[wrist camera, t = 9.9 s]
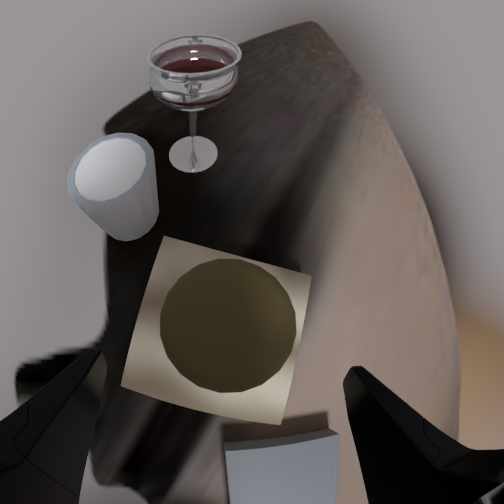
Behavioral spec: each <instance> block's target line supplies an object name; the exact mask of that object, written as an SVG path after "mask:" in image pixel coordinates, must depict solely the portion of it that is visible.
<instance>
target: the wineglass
mask: <svg viewBox="0 0 504 504" xmlns="http://www.w3.org/2000/svg"><path fill="white" fill-rule="evenodd" d="M241 54H242V52H241V50H240V48H239V47H238V46H237V45H236V44H234V43H233V42H232V41H229V40H227V39H225V38H222V37H217V36H213V35H202V34H195V35H184V36H179V37H174V38H171V39H168V40H166V41H163V42H161V43H159V44H158V45H157V46H155V47H153V48H152V50H151V51H150V53H149V54H148V59H147V60H148V62H149V64H150V65H151V66H152V67H151V68H150V73H149V85H150V88H151V90H152V92H153V93H154V95H155V97H156V98H157V99H158V101H159V102H160V103H162V104H163V105H165V106H167V107H169V108H172V109H175V110H178V111H181V112H189V126H190V136H189V137H185V138H182V139H180V140H178V141H177V142H176V143H174V145H173V146H172V147H171V149H170V152H169V160H170V162H171V163H172V165H173V166H174V167H175V168H177V169H178V170H181V171H183V172H190V173H194V172H201V171H203V170H206V169H208V168H209V167H210V166H212V165H213V164H214V162H215V161H216V159H217V154H218V152H217V147H216V146H215V145H214V143H213V142H212V141H210V140H209V139H207V138H204V137H201V136H196V123H197V112H201V111H204V110H207V109H210V108H212V107H214V106H216V105H218V104H220V103H222V102H223V101H225V100H226V99H227V98H228V96H229V95H230V94H231V93H232V91H233V90H234V89H235V88H236V86H237V81H238V76H239V69H238V66H237V62H238V61H239V60H240V58H241Z"/></svg>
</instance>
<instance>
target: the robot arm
mask: <svg viewBox="0 0 504 504" xmlns="http://www.w3.org/2000/svg"><path fill="white" fill-rule="evenodd" d="M106 373H107V364H106V361H105V358H104V355H103V352H102V351H101V350H98V349H93V348H92V349H90V350H88V351H87V352H86V353H85V354H83V355H82V356H81V357H80V358H78V359H77V360H76V361H75V362H73V363H72V364H71V365H70V366H68V367H67V368H66V369H65V370H64V371H62V372H61V373H60V374H59V375H57V376H56V377H55V378H54V379H53V380H51V381H50V382H49V383H48V384H46V385H45V386H44V387H43V388H42V389H40V390H39V391H38V392H37V393H36V394H34V395H33V396H32V397H31V398H30V399H28V401H26V402H25V403H24V404H22V405H21V406H20V407H19V408H17V410H15V411H14V412H12V413H11V414H10V415H8V416H7V417H6V418H4V419H3V420H1V421H0V504H79V496H80V491H81V485H82V479H83V475H84V470H85V465H86V460H87V456H88V452H89V447H90V443H91V439H92V435H93V431H94V428H95V424H96V420H97V417H98V413H99V409H100V405H101V400H102V394H103V389H104V383H105V378H106ZM343 388H344V394H345V401H346V407H347V414H348V419H349V423H350V427H351V431H352V435H353V439H354V443H355V446H356V450H357V454H358V459H359V463H360V467H361V471H362V475H363V480H364V484H365V489H366V493H367V498H368V503H369V504H504V449H500V450H473V449H470V448H467V447H465V446H463V445H462V444H460V443H459V442H457V441H456V440H454V439H453V438H451V437H449V436H448V435H446V434H445V433H443V432H442V431H441V430H439V429H438V428H436V427H435V426H434V425H433V424H431V423H430V422H429V421H427V420H426V419H425V418H423V417H422V416H421V415H420V414H419V413H418V412H416V411H415V410H414V409H413V408H412V407H410V406H409V405H408V404H407V403H406V402H404V401H403V400H402V399H401V398H399V397H398V396H397V395H396V394H395V393H393V392H392V391H391V390H390V389H389V388H387V387H386V386H385V385H384V384H383V383H381V382H380V381H379V380H378V379H377V378H376V377H374V376H373V375H372V374H371V373H370V372H368V371H367V370H366V369H365V368H364V367H362V366H353V367H351V368H350V370H349V371H348V373H347V375H346V377H345V379H344V381H343Z"/></svg>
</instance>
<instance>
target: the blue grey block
mask: <svg viewBox="0 0 504 504" xmlns="http://www.w3.org/2000/svg"><path fill="white" fill-rule="evenodd" d="M224 454H225V465H226V475H227V485H228V494H229V503H230V504H336V498H337V483H338V461H339V434H338V433H336V432H335V431H333V430H331V429H329V428H327V429H323V430H318V431H313V432H308V433H303V434H297V435H291V436H284V437H277V438H269V439H261V440H251V441H238V442H224Z"/></svg>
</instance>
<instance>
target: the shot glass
mask: <svg viewBox="0 0 504 504" xmlns="http://www.w3.org/2000/svg"><path fill="white" fill-rule="evenodd" d="M67 189H68V191H69V194H70V196H71V198H72V200H73V201H74V202H75V203H76V204H77V205H78V206H79V207H80V208H81V209H82V210H83V211H84V212H85V213H86V214H87V215H88V216H89V217H90V218H91V219H92V220H93V221H94V222H95V223H97V224H98V225H99V226H100V227H101V228H102V229H103V230H104V231H105V232H106V233H107V234H109V235H110V236H112V237H113V238H114V239H116V240H122V241H130V240H135V239H139V238H140V237H142V236H143V235H145V234H146V233H148V232H149V231H150V230H151V228H152V227H153V226H154V224H155V223H156V221H157V217H158V214H159V204H158V194H157V183H156V171H155V159H154V150H153V149H152V147H151V146H150V145H149V143H148V142H147V141H146V139H144V138H142V137H139V136H137V135H135V134H132V133H115V134H111V135H107V136H104V137H101V138H99V139H98V140H96V141H94V142H93V143H91V144H89V145H88V146H87V147H86V148H85V149H84V150H83V151H82V152H81V153H80V154H79V155H78V156H77V157H76V158H75V160H74V162H73V164H72V166H71V168H70V170H69V172H68V181H67Z"/></svg>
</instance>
